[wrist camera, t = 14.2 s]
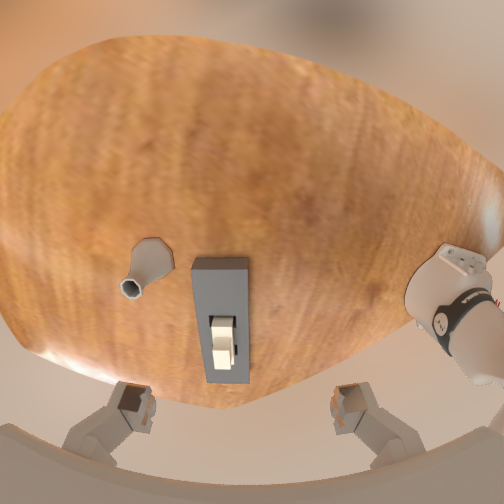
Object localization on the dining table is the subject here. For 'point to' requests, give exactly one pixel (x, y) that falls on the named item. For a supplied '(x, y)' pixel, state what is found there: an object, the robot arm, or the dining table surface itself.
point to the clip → (223, 342)
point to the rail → (223, 312)
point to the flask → (147, 266)
